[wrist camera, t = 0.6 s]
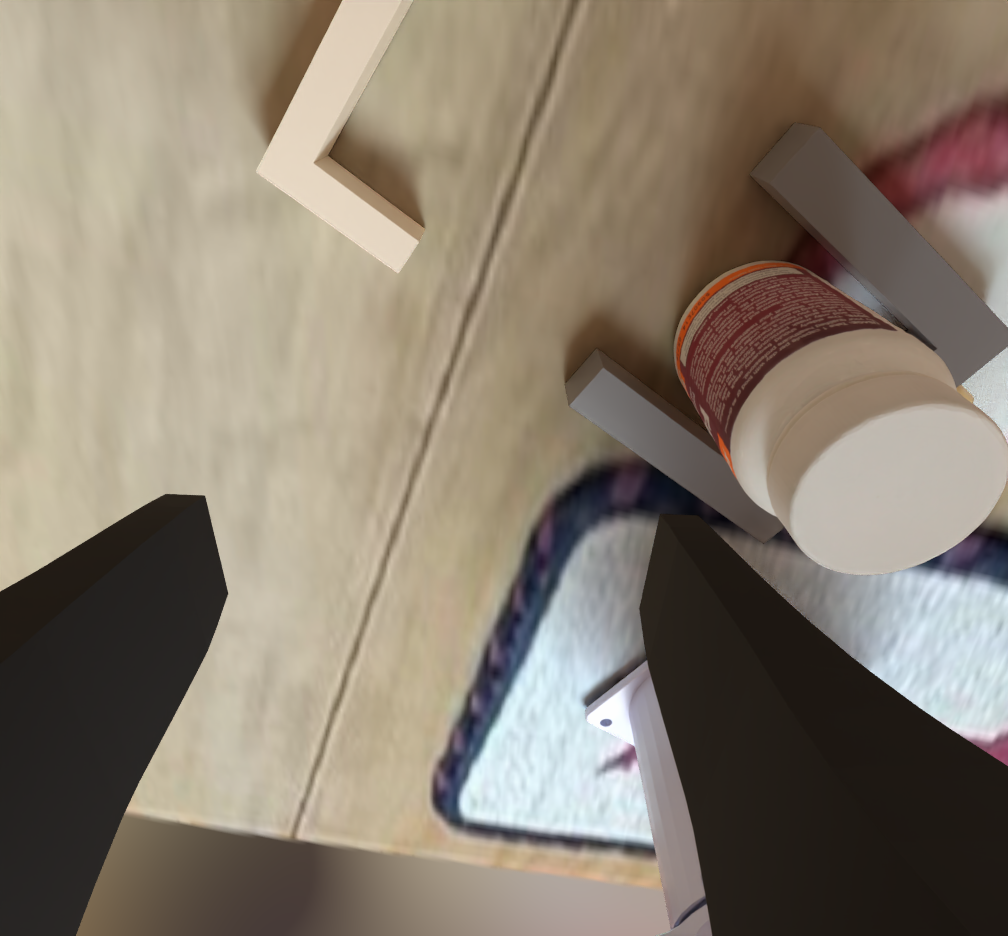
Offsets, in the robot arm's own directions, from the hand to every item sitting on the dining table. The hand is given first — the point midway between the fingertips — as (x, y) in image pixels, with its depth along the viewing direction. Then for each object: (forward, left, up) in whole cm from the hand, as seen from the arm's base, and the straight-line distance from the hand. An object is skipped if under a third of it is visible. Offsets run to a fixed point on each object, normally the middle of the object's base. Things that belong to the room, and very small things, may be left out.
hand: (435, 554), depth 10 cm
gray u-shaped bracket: (-8, -5, -10) cm, 14 cm away
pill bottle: (-7, -5, -10) cm, 13 cm away
